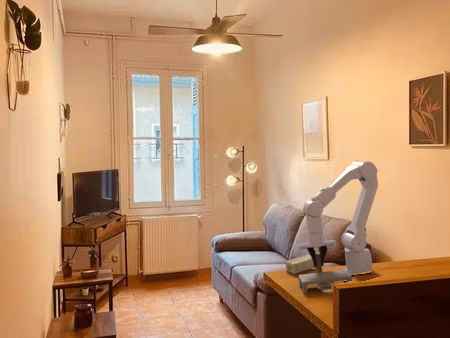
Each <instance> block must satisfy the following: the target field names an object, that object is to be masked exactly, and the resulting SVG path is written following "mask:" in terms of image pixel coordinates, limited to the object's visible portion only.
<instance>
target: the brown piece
mask: <svg viewBox="0 0 450 338" xmlns="http://www.w3.org/2000/svg"><path fill="white" fill-rule="evenodd" d="M315 253H316V263H317V267H315V268H314V269H315V273H319V272H323V266H322V265H321V255H320V253H319V251H316V252H315ZM333 284H334V285H335V282H327V283H319V284H316V285H317V289H318V290H319V289H320V290H321V287H323V286H332V285H333Z"/></svg>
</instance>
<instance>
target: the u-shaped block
mask: <svg viewBox="0 0 450 338" xmlns="http://www.w3.org/2000/svg"><path fill="white" fill-rule="evenodd" d="M343 280H347V281H352V280H353V276H351V274H350V273H349V272H348V271H347V270H346V268H343V269H336V270H328V271H322V272H319V273H316V272H313V273H305V274H298V284H299V288H302V293H303V294H308V286H310V285H317V284H319V283H327V282H328V283H329V282H334V283H335V282H344V281H343ZM347 281H346V282H347Z"/></svg>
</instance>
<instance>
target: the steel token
mask: <svg viewBox="0 0 450 338" xmlns="http://www.w3.org/2000/svg"><path fill="white" fill-rule="evenodd" d="M320 292H321V293H324V294H332V286H323V287H321V289H320Z"/></svg>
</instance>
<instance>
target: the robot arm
mask: <svg viewBox="0 0 450 338" xmlns="http://www.w3.org/2000/svg"><path fill="white" fill-rule="evenodd" d="M378 172H379V170H378V168H377V167H376V165H375V164H374V163H373V162H371V161H361V160H355V161H353V162H352V163H351V164H350V165H348V166H347V167H346V169H345V170H344V171H343V172H342V173H341V174H340V175H339V176H338V178H336V179H335V180H334V182H333V183H331V184H330V185H329V186H324V187H321V188H320V189H319V191H318V193H316V194H315V195H314V196H312V197H311V198H310V199H309V200H306V201H305V202H304V204H303V207H302V211H303V212H304V214H305V219H306V230H307V237H308V238H307V239H308V241H307V242H303V243H299V244H297V245H296V246H297V250H298V251H302V250H307V252H308V255H310V256H311V258H312V260H313V263H314V266H315V267H317V263H316V253H315V252H317V251H316V250H315V249H317V248H318V252H319V253H320V255H321V265H322V267H324V266H325V258H326V255H327V252H328V247H336V246H337V241H336V240H335V239H326V240H325V239H324V232H323V231H324V229H323V223H322V215H323V212H324V209H325V208H326V207H327V206H328V205H329V204H330V203H331V202H332V201H333V200H335V198H336V195H337V193H338V192H339V191H340V190H341V189H342V188H344V187H345V186H346V185H347V184H348V183H349V182H351V181H352V180H358V181H359V183H360V185H361V187H362V188H361V191H360V193H359V197H358V200H357V204H356V206H355V210H354V213H353V217H352V219H351V222H350V224H349V225H347V227H346V229H345V231H344V232H343V233H342V235H341V236H340V237H341V238H340V242H341V243H342V245H343V246H344V254H345V256H344V257H345V266H346V268H345V269H346V270H347V271H348V272H349V273H350V274H351V275H353V274H359V273H362V272H367V271H371V270H373V259H372V254H371V250H370V249H369V248H366V247H367V231H366V226H367V222H368V219H369V216H370V212H371V209H372V206H373V203H374V201H375V197H376V193H377V191H378V188H379V181H378Z"/></svg>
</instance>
